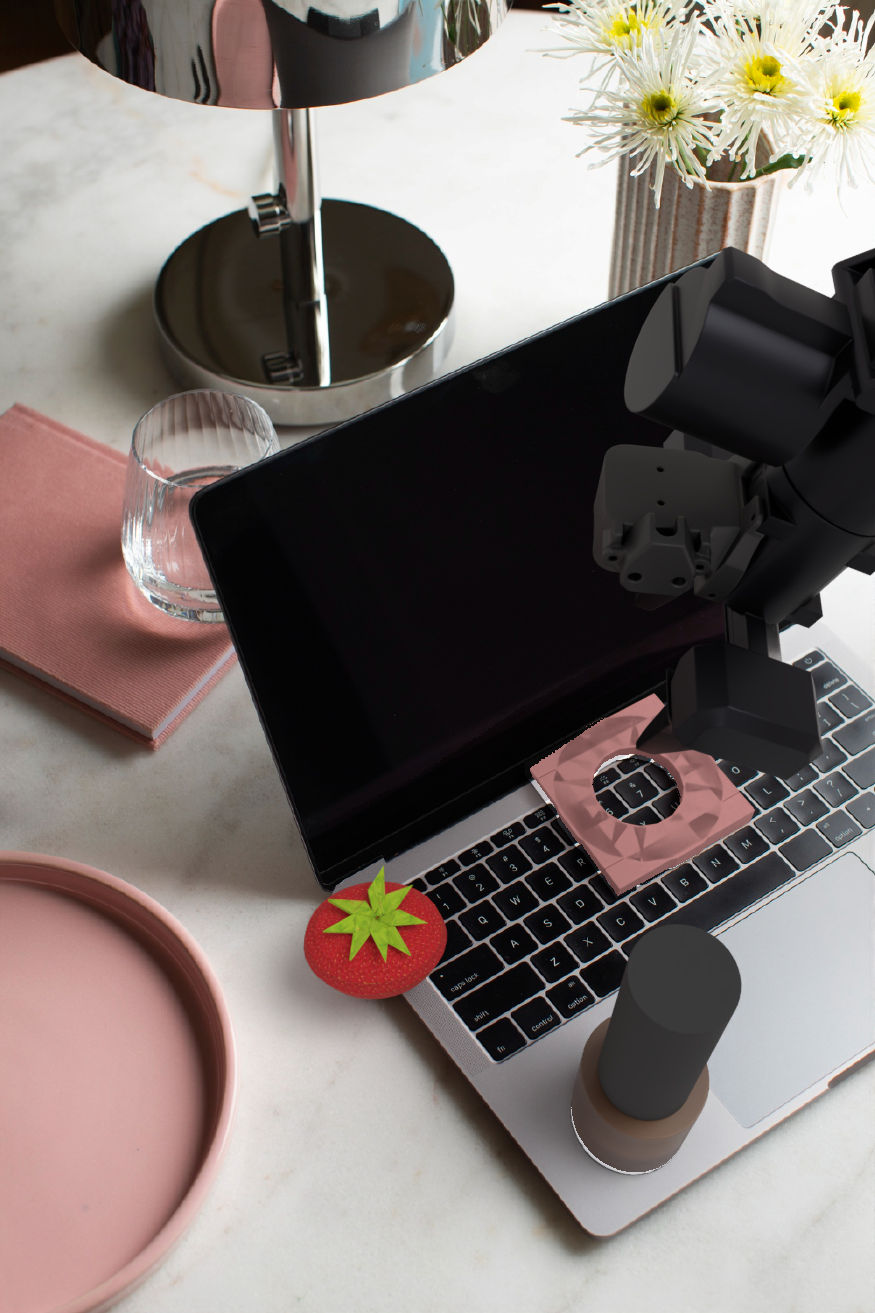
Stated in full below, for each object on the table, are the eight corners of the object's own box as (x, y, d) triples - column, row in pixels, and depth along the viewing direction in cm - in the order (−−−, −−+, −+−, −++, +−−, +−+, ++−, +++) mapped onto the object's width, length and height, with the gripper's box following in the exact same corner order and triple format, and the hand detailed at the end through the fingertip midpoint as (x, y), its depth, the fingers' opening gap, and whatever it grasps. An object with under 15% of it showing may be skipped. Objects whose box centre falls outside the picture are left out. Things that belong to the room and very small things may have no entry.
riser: (710, 1134, 58) (736, 1095, 53) (614, 1199, 56) (631, 1165, 51) (640, 1034, 61) (657, 987, 56) (547, 1092, 60) (555, 1050, 54)
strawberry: (312, 935, 65) (290, 855, 57) (442, 920, 65) (438, 839, 57) (316, 1037, 62) (294, 967, 54) (454, 1021, 62) (452, 949, 54)
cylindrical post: (711, 1089, 53) (766, 996, 43) (635, 1140, 51) (673, 1056, 42) (654, 1009, 55) (693, 904, 45) (579, 1056, 54) (603, 958, 44)
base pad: (753, 822, 69) (758, 810, 68) (616, 903, 66) (618, 892, 65) (651, 703, 74) (654, 690, 73) (520, 773, 71) (520, 760, 70)
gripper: (664, 272, 50) (513, 494, 62) (676, 592, 39) (489, 787, 51) (870, 364, 53) (688, 559, 65) (935, 687, 42) (701, 851, 54)
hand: (642, 674), depth 59 cm, fingers open, 9 cm apart
